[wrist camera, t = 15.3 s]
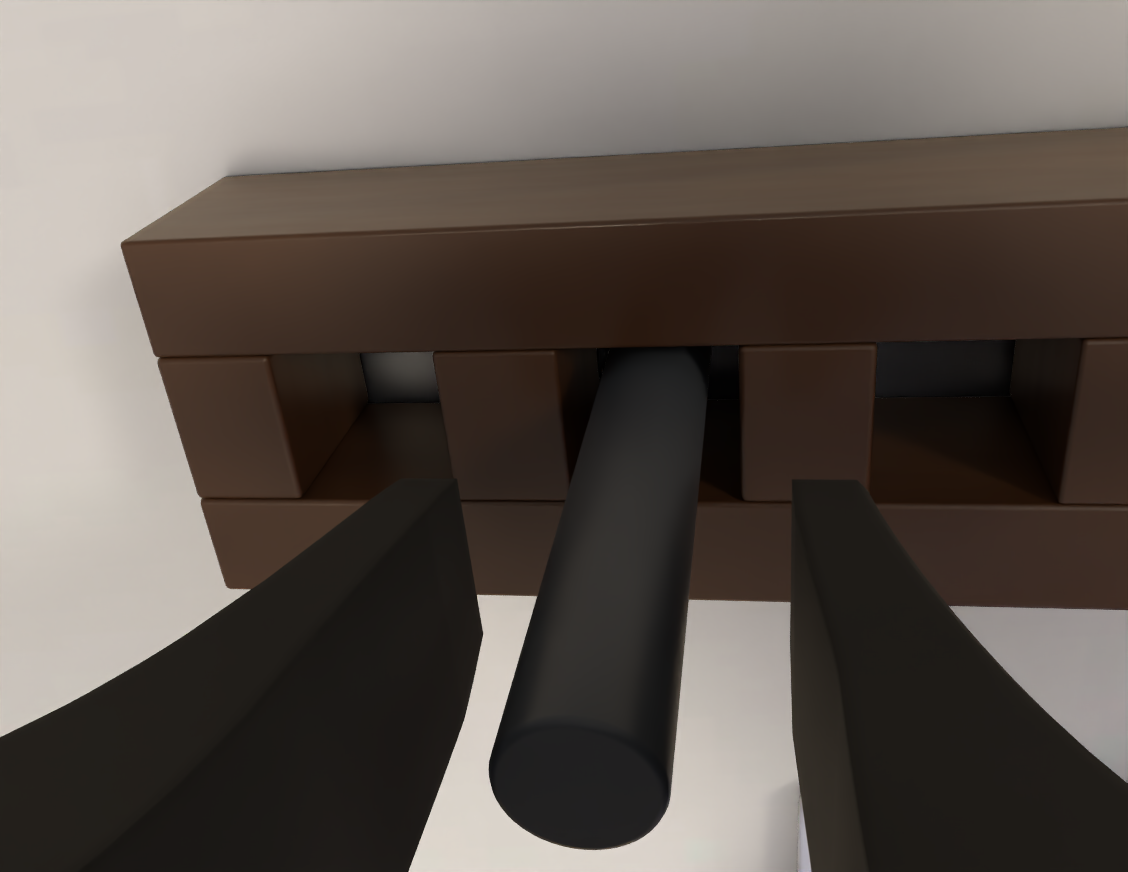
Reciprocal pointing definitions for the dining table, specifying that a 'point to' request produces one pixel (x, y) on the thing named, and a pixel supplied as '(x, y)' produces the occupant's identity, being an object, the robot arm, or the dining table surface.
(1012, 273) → the stand
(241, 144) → the dining table surface
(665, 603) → the stylus
